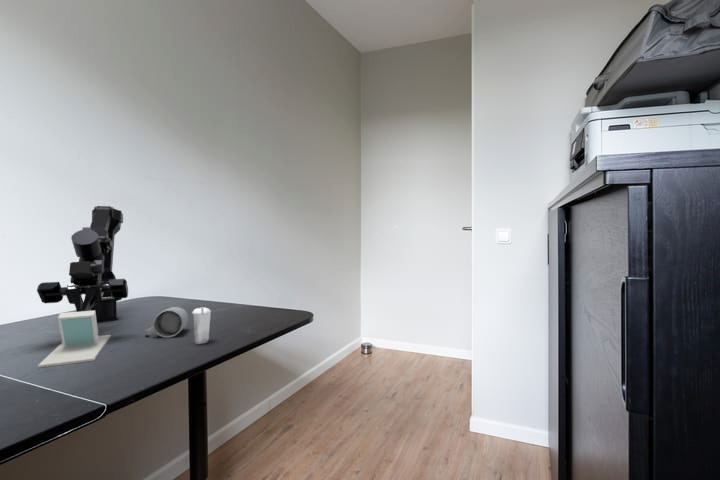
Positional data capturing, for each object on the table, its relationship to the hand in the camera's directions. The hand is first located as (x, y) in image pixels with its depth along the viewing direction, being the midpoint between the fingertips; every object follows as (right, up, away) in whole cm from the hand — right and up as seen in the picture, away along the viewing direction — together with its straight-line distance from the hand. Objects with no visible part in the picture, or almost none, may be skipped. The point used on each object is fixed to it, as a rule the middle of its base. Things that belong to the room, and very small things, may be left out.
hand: (80, 317), depth 91 cm
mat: (+1, -8, -2) cm, 8 cm away
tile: (0, -7, +1) cm, 7 cm away
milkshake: (+28, -8, +5) cm, 30 cm away
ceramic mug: (+15, -8, +12) cm, 21 cm away
